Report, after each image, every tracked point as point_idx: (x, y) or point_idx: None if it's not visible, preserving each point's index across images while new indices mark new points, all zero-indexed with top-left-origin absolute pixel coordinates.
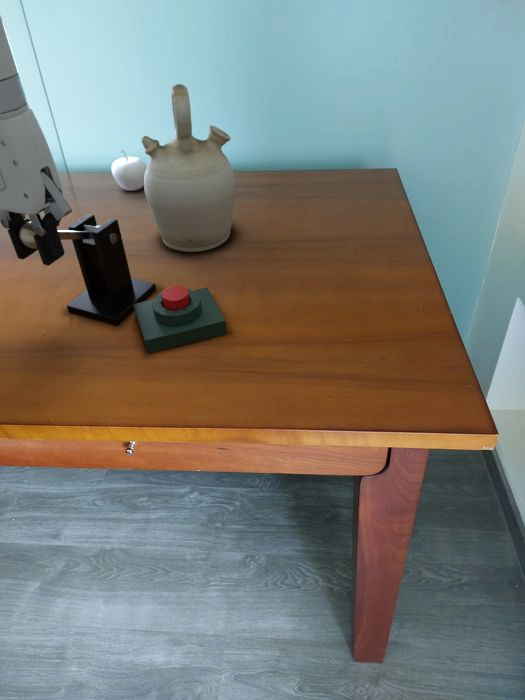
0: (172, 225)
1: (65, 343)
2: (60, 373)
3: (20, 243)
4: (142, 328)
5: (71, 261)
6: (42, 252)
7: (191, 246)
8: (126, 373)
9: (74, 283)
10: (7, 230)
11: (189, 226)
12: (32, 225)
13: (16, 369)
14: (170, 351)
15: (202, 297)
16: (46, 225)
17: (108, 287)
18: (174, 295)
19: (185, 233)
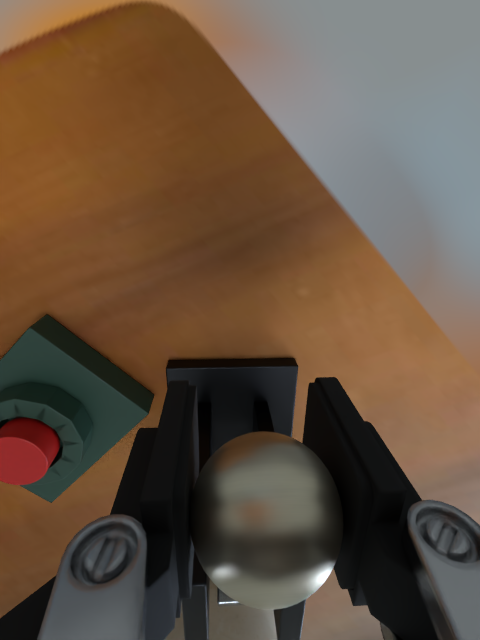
0: (210, 624)
1: (231, 276)
2: (169, 189)
3: (329, 439)
4: (66, 357)
5: None
6: (160, 421)
7: None
8: (39, 245)
9: None
10: (405, 488)
11: (173, 632)
12: (242, 579)
13: (273, 161)
14: (12, 335)
15: None
16: (29, 629)
17: (204, 431)
18: (6, 455)
19: None
